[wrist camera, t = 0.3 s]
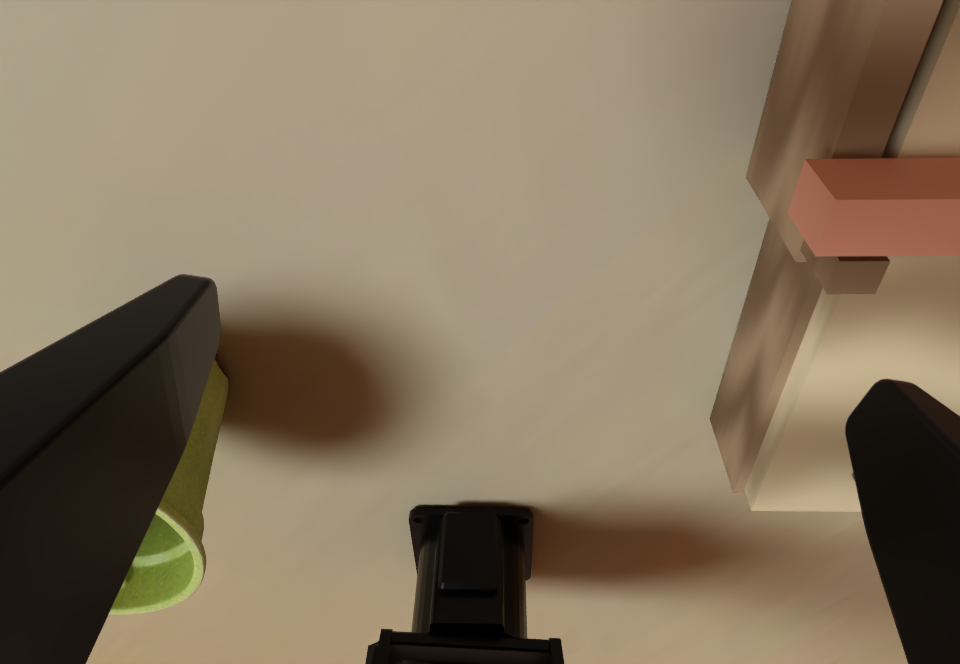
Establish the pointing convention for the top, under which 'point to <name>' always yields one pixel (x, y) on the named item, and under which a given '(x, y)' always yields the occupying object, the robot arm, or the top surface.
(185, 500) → the plant pot
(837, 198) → the bar
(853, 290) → the toolbox
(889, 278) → the lid
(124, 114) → the top surface
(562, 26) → the top surface
